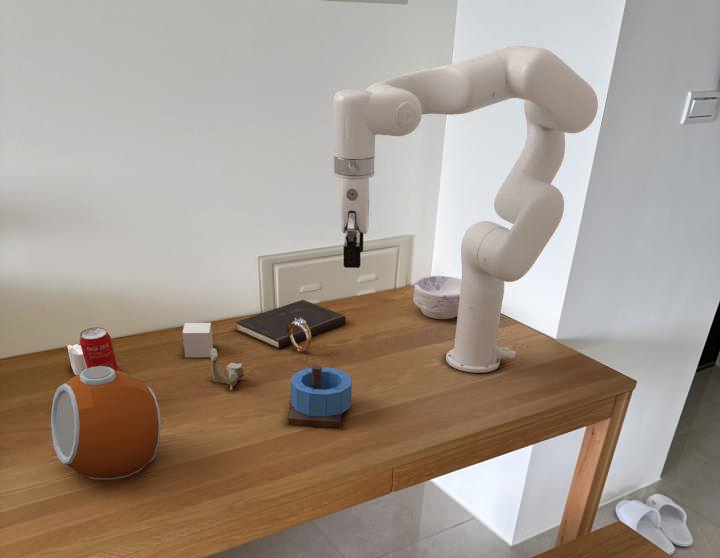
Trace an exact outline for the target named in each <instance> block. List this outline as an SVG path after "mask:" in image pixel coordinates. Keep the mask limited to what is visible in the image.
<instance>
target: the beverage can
mask: <svg viewBox="0 0 720 558" xmlns="http://www.w3.org/2000/svg"><path fill="white" fill-rule="evenodd" d="M79 345H81V349H82V352H83V356H84V360H85V364H86V368H87V369H88V368H91V367H97V366H104V367H110V368H112V369H113V370H116V371H119V368H118V363H117V359H116V355H115V350H114V345H113V342H112V337H111V336H110V334H109V333H108V331H107V329H106V328H104V327H101V326H99V327H98V326H97V327H96V326H95V327H90V328H85V329H84V330H82V331H81V332H80V334H79Z"/></svg>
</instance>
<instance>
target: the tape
mask: <svg viewBox="0 0 720 558" xmlns="http://www.w3.org/2000/svg"><path fill="white" fill-rule="evenodd" d="M352 393H353V378H352V377H351V376H350V375H349V374H348V373H347V372H346V371H344V370H341V369H337V368H335V367H327V366H326V367H325V366H322V389H313V388H312V367H309V368H303V369H301V370H299V371H297V372H296V373H294V374H292V376H291V380H290V404H291V407H292V406H293V407H294V408H295V409H296V410H297V411H298V412H301V413H304V414H306V415H309V416H320V417H328V416H333V415H338V414H342V415H343V413H345V412H346V411H348V410H349V409H351V406H352V399H353V397H352V395H353V394H352Z"/></svg>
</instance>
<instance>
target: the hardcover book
mask: <svg viewBox="0 0 720 558" xmlns="http://www.w3.org/2000/svg"><path fill="white" fill-rule="evenodd" d="M294 318H296V319H297V320H298V319H299V320H300V318H301V320H302V319H303V320H305V321H306V324H307V325H308V327H309V329H310V332H311V337H314V336H316V335H319V334H321V333H324V332H327V331H329V330H332V329H334V328H337V327H340V326H342V325H344V324H346V323H347V322H346V321H347V317H346V316H345V315H344V314H342V313H340V312H336V311H333V310H331V309H329V308H326V307H323V306H320V305H318V304H315V303H313V302H310V301H307V300H304V299H300V300H298V301H294V302H291V303H288V304H286V305H283V306H279V307H276V308H273V309H270V310H267V311H264V312H261V313H258V314H255V315H253V316H249V317H246V318H243V319H240V320H237V321H235V324H236V325H237V326H236V327H237V328H236V329H235V331H237V332H240V333H241V334H243V335H245V336H248V337H250V338H252V339H254V340H257V341H260V342H261V343H263V344H265V345H268V346H269V347H272V348H275V349H276V350H279V349H282V348H284V347H287V346H290V345H292V344H291V342H290V340H289V337H288V333H287V327H288V325H289V324H291V323H292V322H294V321H295V319H294ZM292 334H293V338H294V341H295V343H297V342H301V341H302V340H306V337H305V334H304V331H303V330H302V329H301V328H300V327H298V326H296V325H295V326H293V330H292Z"/></svg>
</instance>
